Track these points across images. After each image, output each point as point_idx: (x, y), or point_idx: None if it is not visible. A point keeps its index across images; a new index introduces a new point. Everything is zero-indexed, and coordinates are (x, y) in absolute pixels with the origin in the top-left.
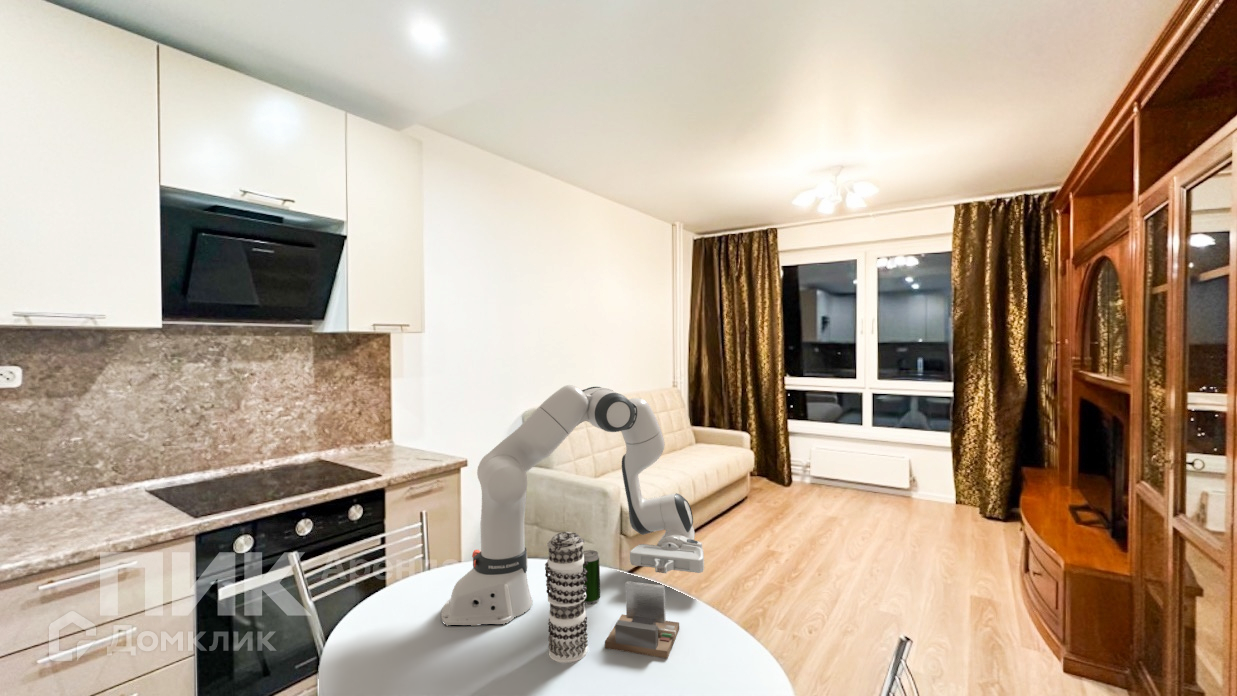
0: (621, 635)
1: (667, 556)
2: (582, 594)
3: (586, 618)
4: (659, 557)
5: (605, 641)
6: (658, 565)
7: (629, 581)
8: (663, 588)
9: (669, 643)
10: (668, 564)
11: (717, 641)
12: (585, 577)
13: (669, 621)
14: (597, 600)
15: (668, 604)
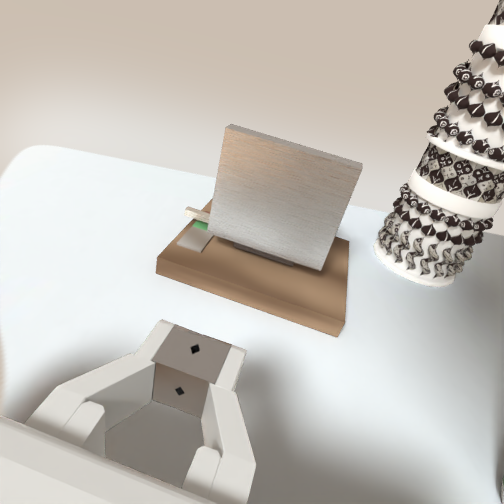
0: None
1: (86, 454)
2: (439, 131)
3: (408, 197)
4: (192, 497)
5: (347, 241)
6: (221, 347)
7: (353, 166)
8: (230, 125)
9: (205, 209)
10: (125, 355)
11: (70, 220)
12: (461, 96)
13: (187, 265)
14: (502, 482)
15: (145, 428)
